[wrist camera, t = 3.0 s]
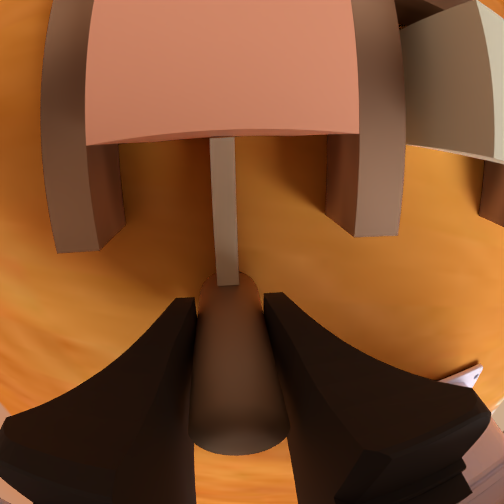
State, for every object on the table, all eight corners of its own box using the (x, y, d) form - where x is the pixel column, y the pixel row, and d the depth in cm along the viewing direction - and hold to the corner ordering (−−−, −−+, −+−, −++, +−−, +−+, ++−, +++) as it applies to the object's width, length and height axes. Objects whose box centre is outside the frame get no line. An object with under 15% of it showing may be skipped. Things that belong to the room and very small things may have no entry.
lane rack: (494, 216, 11) (527, 231, 9) (89, 227, 9) (57, 253, 7) (492, 44, 7) (525, 39, 5) (90, -9, 6) (63, -35, 4)
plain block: (468, 156, 10) (554, 178, 5) (393, 143, 9) (493, 157, 5) (465, 64, 8) (547, 58, 3) (388, 35, 8) (475, -2, 3)
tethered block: (286, 316, 11) (331, 442, 6) (174, 323, 11) (151, 454, 6) (287, 16, 7) (357, -86, 2) (154, 21, 7) (92, -80, 1)
